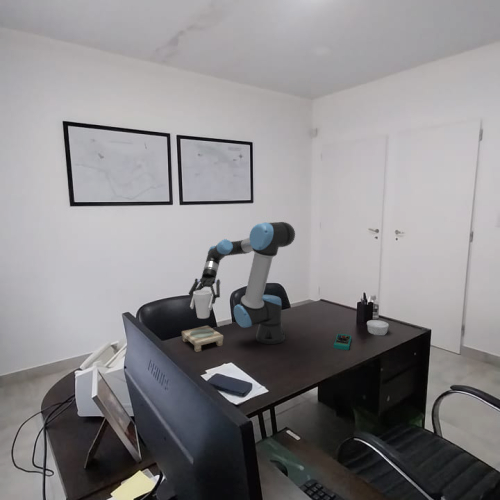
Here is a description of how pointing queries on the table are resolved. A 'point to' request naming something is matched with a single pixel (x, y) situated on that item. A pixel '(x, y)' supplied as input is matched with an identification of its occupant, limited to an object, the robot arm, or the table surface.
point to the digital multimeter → (342, 341)
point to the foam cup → (202, 302)
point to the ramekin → (377, 327)
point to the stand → (202, 337)
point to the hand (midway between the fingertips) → (200, 308)
